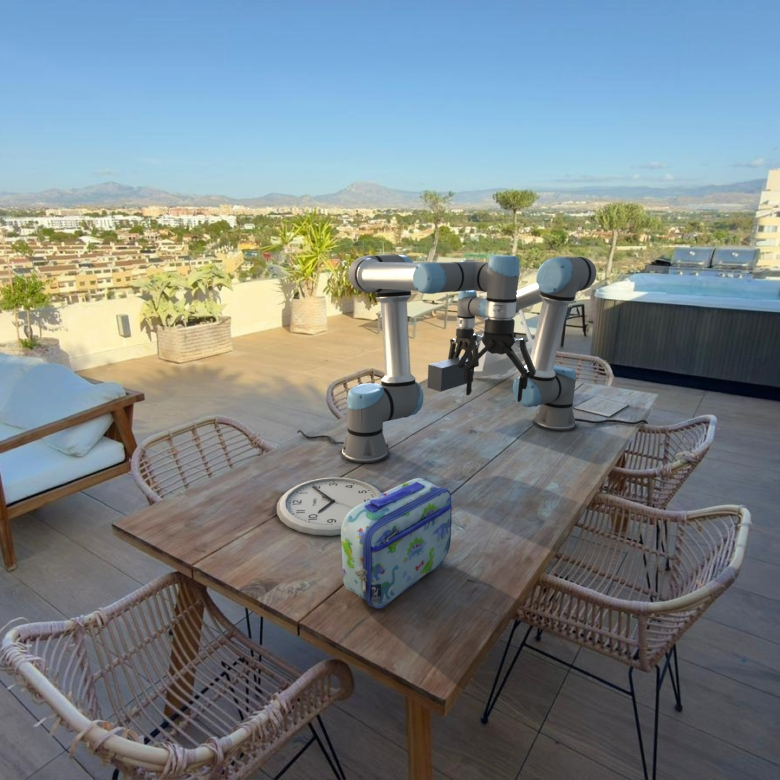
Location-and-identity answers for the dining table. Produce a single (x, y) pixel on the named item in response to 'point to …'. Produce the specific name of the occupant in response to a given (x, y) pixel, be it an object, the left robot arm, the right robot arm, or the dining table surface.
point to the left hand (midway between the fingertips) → (493, 397)
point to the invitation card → (601, 406)
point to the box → (445, 374)
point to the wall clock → (323, 504)
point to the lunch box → (395, 540)
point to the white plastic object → (501, 356)
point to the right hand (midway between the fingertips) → (461, 379)
